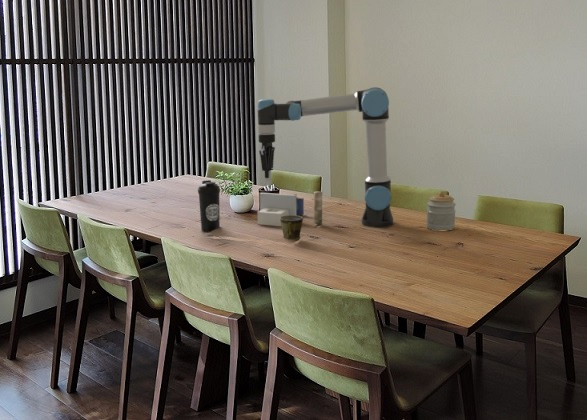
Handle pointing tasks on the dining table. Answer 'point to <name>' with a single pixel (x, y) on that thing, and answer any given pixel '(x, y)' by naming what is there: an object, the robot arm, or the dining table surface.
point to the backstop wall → (278, 202)
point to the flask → (299, 206)
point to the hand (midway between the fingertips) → (268, 184)
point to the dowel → (318, 208)
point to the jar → (441, 212)
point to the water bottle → (209, 205)
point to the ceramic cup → (291, 226)
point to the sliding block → (271, 216)
